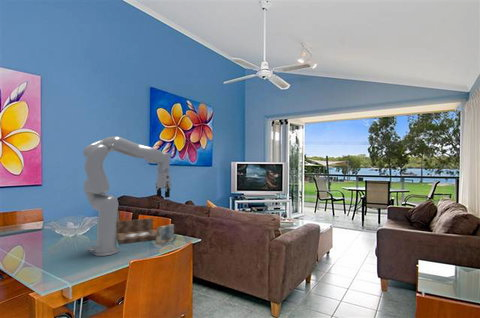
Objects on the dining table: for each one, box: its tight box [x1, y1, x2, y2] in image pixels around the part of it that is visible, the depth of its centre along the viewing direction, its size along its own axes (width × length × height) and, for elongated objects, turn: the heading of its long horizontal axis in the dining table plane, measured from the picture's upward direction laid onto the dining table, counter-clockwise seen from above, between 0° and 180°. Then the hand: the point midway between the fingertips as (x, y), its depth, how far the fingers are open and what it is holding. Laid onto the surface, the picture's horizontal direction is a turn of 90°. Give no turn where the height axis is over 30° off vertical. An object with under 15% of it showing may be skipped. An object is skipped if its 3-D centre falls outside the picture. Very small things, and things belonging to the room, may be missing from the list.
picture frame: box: [155, 223, 175, 245], centre depth 171 cm, size 12×5×10 cm, turn 145°
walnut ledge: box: [116, 217, 157, 245], centre depth 179 cm, size 24×20×10 cm
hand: (163, 196), depth 178 cm, fingers open, 9 cm apart
